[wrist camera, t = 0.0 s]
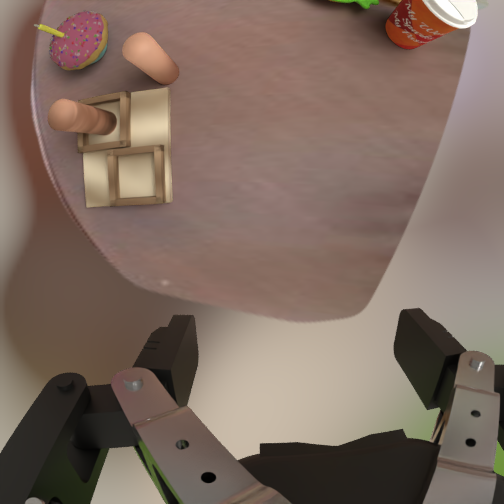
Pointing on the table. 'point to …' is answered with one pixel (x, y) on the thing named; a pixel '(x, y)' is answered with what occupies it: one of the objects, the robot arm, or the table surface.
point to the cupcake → (78, 40)
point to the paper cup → (428, 20)
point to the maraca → (360, 2)
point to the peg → (150, 58)
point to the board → (121, 145)
